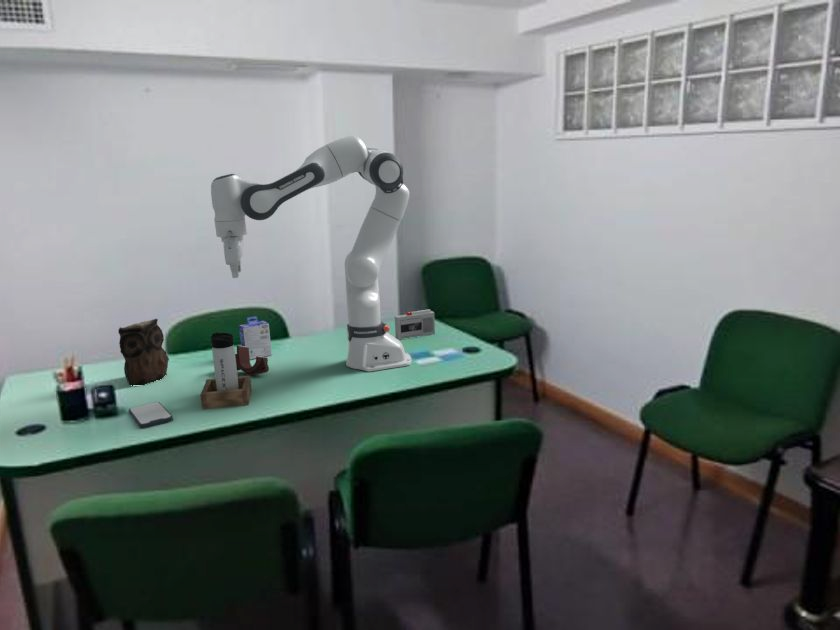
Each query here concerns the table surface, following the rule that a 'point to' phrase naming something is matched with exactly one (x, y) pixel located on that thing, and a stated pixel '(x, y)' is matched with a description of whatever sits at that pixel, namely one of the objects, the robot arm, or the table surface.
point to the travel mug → (224, 361)
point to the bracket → (244, 362)
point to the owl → (143, 352)
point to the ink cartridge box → (256, 337)
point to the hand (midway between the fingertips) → (236, 274)
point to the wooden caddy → (226, 394)
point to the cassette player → (415, 324)
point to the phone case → (150, 415)
